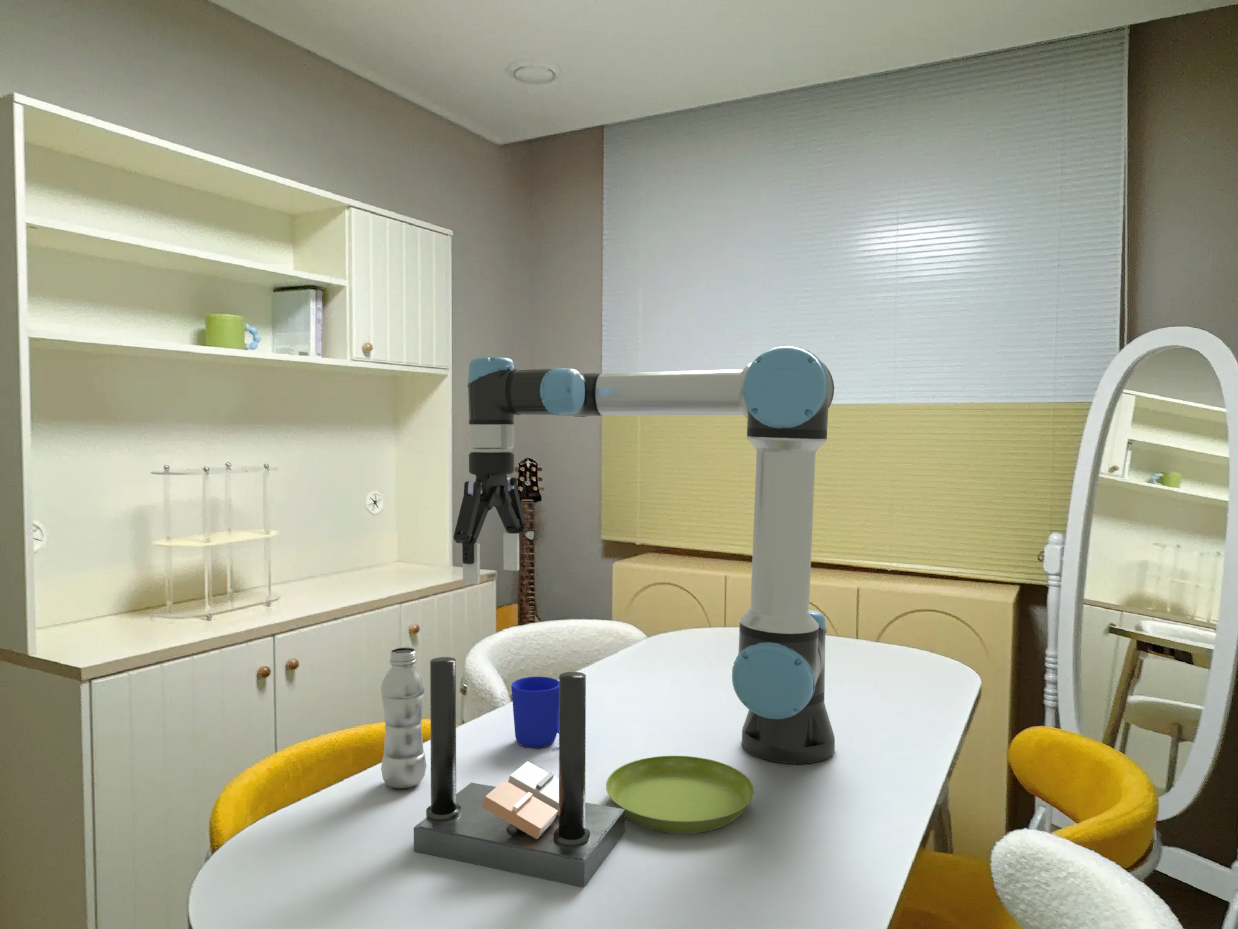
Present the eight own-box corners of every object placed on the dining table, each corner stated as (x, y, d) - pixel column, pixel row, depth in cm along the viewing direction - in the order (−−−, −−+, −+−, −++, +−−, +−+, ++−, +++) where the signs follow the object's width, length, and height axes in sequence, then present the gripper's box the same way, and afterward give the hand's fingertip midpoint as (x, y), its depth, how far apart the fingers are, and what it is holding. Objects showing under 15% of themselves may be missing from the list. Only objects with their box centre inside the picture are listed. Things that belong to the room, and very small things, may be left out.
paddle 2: (554, 821, 104) (559, 807, 104) (536, 839, 99) (542, 825, 99) (501, 790, 106) (505, 776, 106) (481, 807, 102) (486, 792, 101)
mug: (575, 756, 133) (575, 694, 133) (504, 749, 136) (504, 689, 135) (587, 737, 141) (588, 679, 141) (520, 731, 144) (520, 675, 143)
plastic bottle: (386, 797, 118) (385, 659, 117) (377, 779, 124) (376, 647, 123) (431, 789, 121) (430, 653, 120) (420, 771, 127) (419, 642, 126)
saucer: (609, 774, 127) (609, 754, 127) (744, 777, 126) (744, 756, 126) (602, 842, 106) (602, 817, 106) (763, 845, 106) (764, 821, 105)
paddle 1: (574, 799, 110) (579, 786, 110) (559, 815, 105) (564, 802, 105) (523, 770, 113) (528, 757, 112) (506, 785, 108) (511, 772, 108)
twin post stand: (625, 831, 108) (626, 658, 107) (584, 887, 95) (585, 690, 94) (466, 802, 116) (466, 641, 115) (408, 850, 103) (407, 668, 102)
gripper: (507, 448, 152) (507, 563, 153) (430, 452, 128) (431, 588, 129) (544, 449, 149) (544, 566, 150) (472, 452, 126) (473, 591, 127)
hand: (492, 576), depth 140 cm, fingers open, 13 cm apart
